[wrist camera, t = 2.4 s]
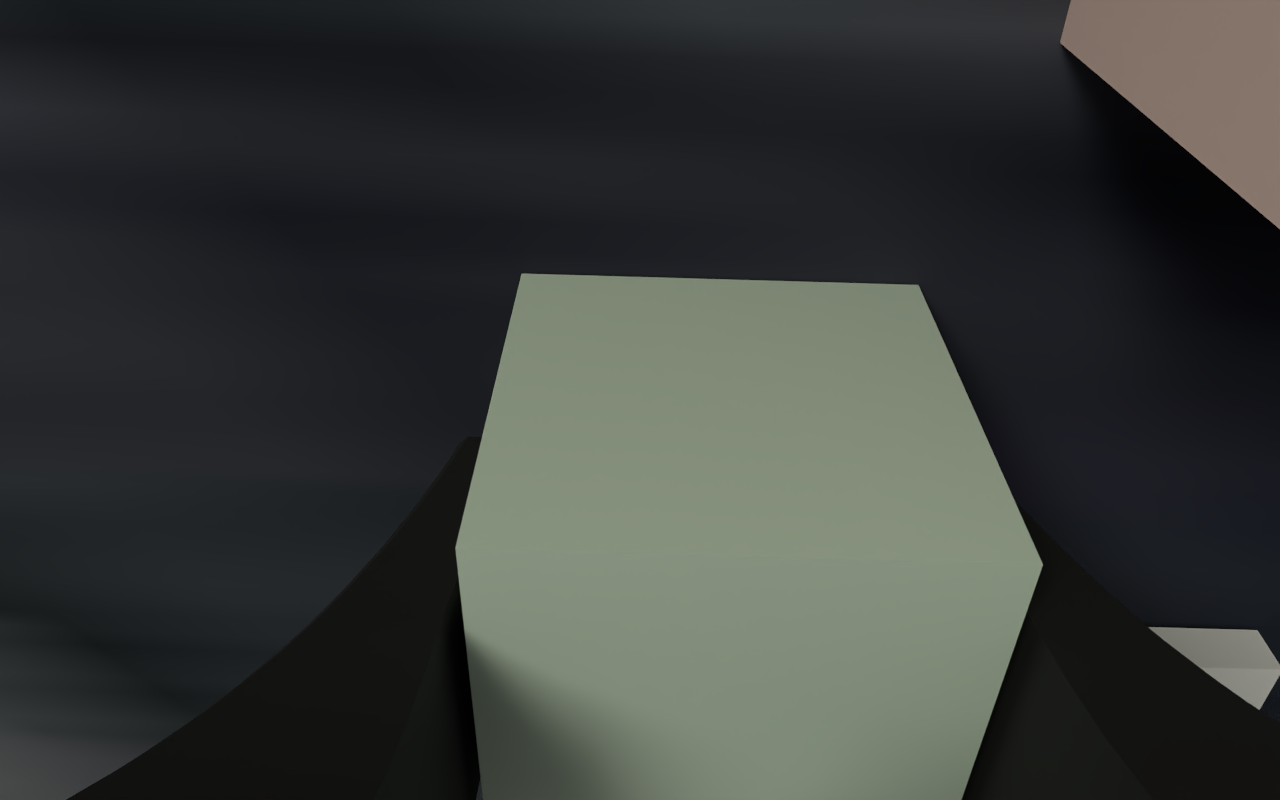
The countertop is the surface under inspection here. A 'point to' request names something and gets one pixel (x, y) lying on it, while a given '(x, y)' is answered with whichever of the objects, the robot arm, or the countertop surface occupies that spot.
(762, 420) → the sage cube
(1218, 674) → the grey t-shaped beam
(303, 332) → the countertop surface
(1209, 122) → the pink cube
